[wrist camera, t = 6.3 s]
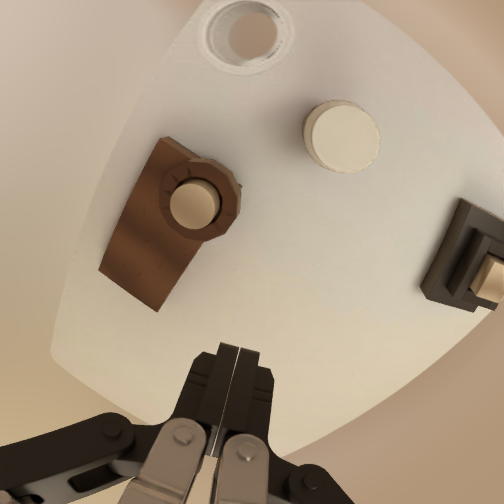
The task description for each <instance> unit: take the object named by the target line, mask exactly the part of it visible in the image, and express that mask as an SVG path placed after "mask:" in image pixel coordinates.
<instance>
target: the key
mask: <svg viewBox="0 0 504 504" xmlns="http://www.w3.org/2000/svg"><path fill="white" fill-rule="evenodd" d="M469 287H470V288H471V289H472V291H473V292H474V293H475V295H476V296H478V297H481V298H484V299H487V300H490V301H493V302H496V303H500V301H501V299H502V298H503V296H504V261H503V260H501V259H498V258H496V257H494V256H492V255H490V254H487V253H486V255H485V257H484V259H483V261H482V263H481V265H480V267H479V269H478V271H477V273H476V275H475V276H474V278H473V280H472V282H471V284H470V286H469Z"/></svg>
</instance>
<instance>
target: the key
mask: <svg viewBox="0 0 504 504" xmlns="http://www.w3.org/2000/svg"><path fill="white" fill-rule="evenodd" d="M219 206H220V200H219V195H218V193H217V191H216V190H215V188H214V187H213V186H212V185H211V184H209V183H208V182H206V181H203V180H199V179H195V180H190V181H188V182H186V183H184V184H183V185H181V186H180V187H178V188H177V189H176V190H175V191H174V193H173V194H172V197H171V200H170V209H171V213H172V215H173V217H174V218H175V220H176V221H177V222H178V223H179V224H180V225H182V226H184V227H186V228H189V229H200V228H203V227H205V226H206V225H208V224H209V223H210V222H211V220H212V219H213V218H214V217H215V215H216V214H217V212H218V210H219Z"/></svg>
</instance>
